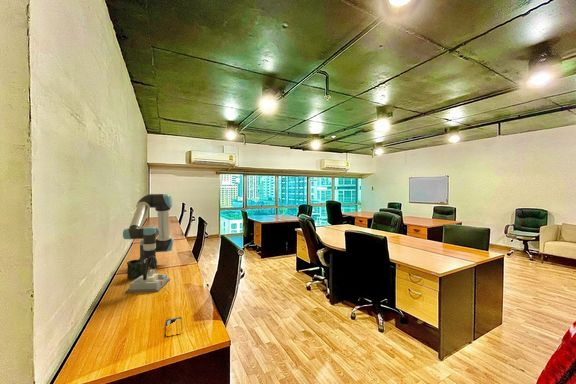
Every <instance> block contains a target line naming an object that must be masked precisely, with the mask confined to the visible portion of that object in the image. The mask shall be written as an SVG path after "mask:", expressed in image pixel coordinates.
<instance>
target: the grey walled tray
mask: <svg viewBox="0 0 576 384" xmlns="http://www.w3.org/2000/svg"><path fill="white" fill-rule="evenodd" d="M142 276H143V275H141V276H140V277H138V278H137V279H133V281H131V282H130V283H129V288H128V289H127V290H125V293H127V294H129V293H130V294H131V293H132V294H133V293H151V292H152V293H156V292H157V293H158V292H159V291H160V290H161V289H163V288H164V287H165V286H166V285H167V284H168V283H169V282H170V281H171V278H168V274H167V273H158V280H157V281H156V282H143V283H140V278H141V277H142ZM161 280H164V283H163V284H162V285H161Z"/></svg>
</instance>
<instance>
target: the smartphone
mask: <svg viewBox="0 0 576 384" xmlns="http://www.w3.org/2000/svg"><path fill="white" fill-rule="evenodd" d="M178 319H183V318H182V316H179V317H173V318H169V319H166V320H165V324H164V325H165V327H166V326H168V325H169V324H171V323H173V322H175V321H177V320H178Z"/></svg>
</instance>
